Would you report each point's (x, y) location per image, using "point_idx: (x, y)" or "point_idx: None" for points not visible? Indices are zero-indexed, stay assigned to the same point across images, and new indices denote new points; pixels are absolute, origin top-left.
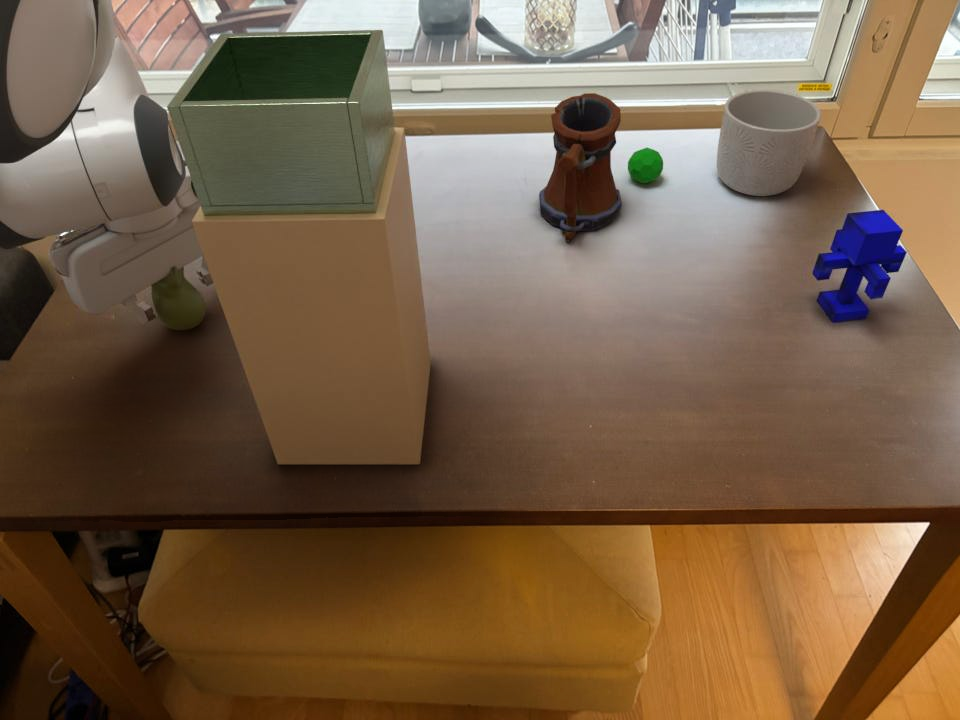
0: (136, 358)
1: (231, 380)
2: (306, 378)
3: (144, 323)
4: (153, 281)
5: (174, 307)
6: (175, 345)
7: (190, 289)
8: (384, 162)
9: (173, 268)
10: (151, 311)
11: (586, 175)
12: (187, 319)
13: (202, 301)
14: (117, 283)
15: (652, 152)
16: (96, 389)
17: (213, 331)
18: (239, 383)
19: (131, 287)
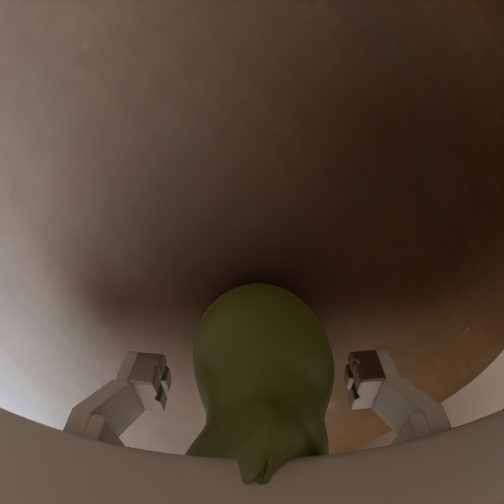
0: (398, 299)
1: (324, 39)
2: None
3: (386, 350)
4: (359, 460)
5: (306, 346)
6: (327, 273)
7: (218, 373)
8: None
9: (257, 477)
10: (363, 370)
11: None
12: (282, 299)
13: (206, 324)
14: (491, 483)
15: None
16: (480, 279)
17: (231, 244)
18: (317, 14)
19: (447, 461)
